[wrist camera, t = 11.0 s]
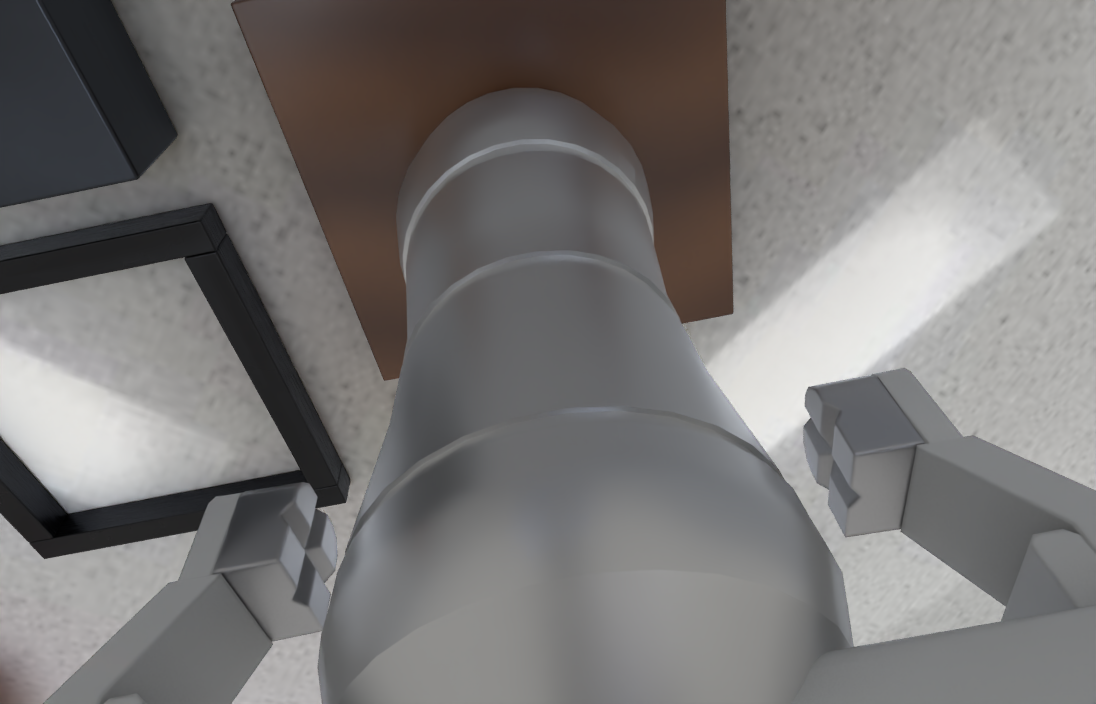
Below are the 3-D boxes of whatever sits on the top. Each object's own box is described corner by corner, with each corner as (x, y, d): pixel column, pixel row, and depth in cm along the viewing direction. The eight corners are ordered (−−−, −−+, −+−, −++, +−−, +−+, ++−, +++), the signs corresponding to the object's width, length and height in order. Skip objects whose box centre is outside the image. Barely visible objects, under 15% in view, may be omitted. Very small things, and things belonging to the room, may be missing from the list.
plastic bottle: (367, 230, 21) (38, 1515, 5) (471, 12, 18) (460, 1666, 2) (556, 314, 23) (732, 1382, 7) (678, 134, 20) (1460, 1341, 4)
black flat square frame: (-175, 281, 22) (-205, 302, 21) (212, 202, 21) (200, 220, 20) (58, 534, 29) (44, 559, 28) (351, 479, 28) (346, 503, 27)
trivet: (238, -4, 18) (229, 3, 17) (714, -107, 18) (723, -103, 17) (386, 367, 25) (384, 381, 25) (727, 301, 25) (733, 314, 24)
